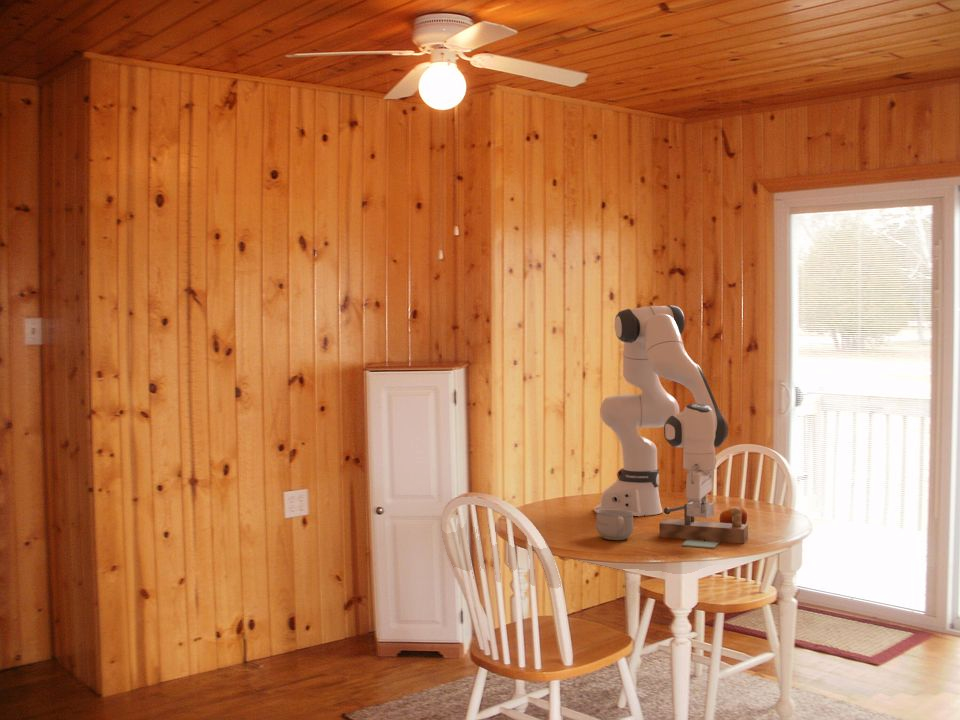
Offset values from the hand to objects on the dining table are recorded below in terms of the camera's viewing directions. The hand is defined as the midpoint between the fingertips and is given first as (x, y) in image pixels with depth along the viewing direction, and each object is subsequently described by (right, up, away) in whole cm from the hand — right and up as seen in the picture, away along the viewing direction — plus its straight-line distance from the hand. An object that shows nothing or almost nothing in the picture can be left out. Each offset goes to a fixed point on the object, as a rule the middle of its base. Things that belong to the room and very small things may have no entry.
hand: (699, 511), depth 266 cm
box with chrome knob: (0, -1, 0) cm, 1 cm away
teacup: (-22, -10, +9) cm, 26 cm away
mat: (0, -9, 0) cm, 9 cm away
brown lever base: (+3, -9, +9) cm, 13 cm away
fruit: (+15, -9, +20) cm, 27 cm away
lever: (0, -1, +10) cm, 10 cm away
